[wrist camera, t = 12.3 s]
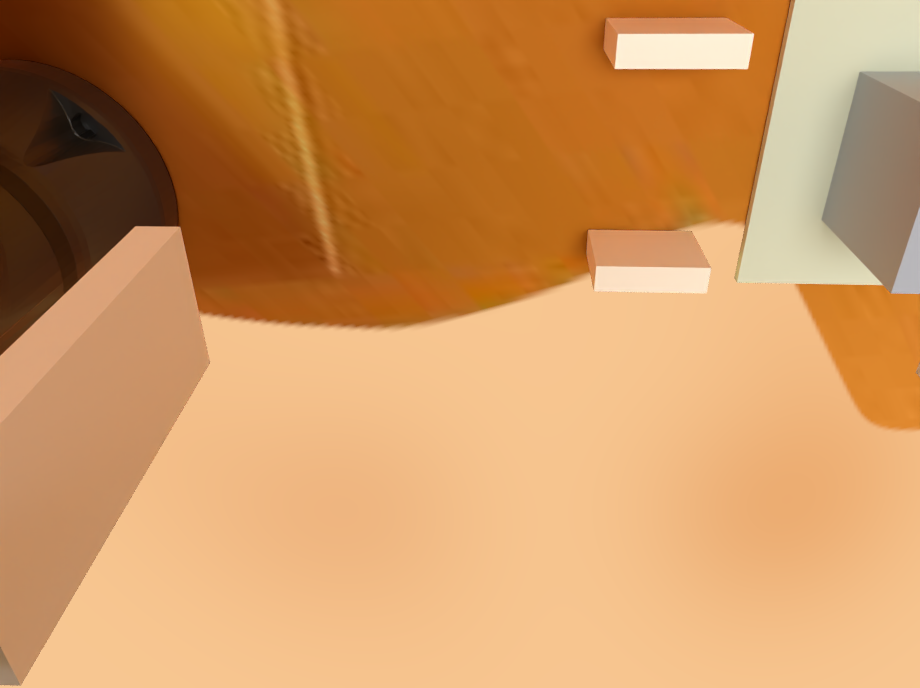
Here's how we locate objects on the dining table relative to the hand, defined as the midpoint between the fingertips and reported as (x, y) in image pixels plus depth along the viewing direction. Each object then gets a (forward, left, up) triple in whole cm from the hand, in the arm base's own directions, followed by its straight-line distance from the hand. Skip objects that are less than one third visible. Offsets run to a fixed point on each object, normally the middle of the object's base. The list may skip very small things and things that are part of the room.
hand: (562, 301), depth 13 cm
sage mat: (+19, -6, -30) cm, 35 cm away
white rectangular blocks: (+7, -6, -30) cm, 31 cm away
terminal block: (+19, -6, -29) cm, 35 cm away
